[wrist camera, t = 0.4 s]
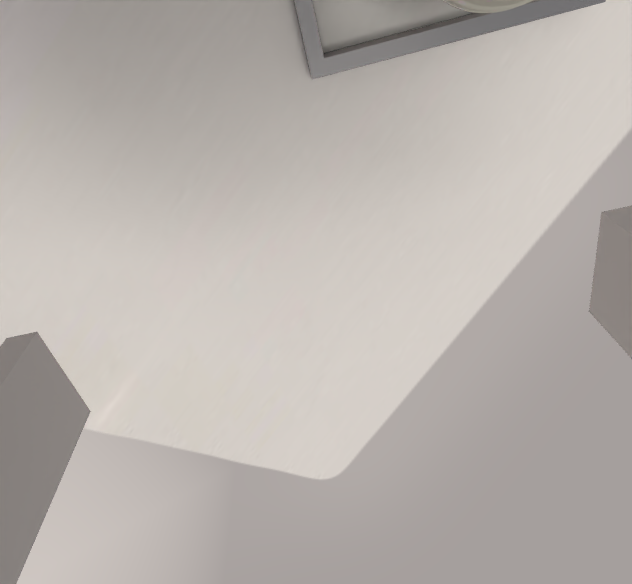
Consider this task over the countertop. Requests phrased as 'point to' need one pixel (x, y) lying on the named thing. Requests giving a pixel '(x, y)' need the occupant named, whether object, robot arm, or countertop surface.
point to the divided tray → (418, 34)
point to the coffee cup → (486, 5)
